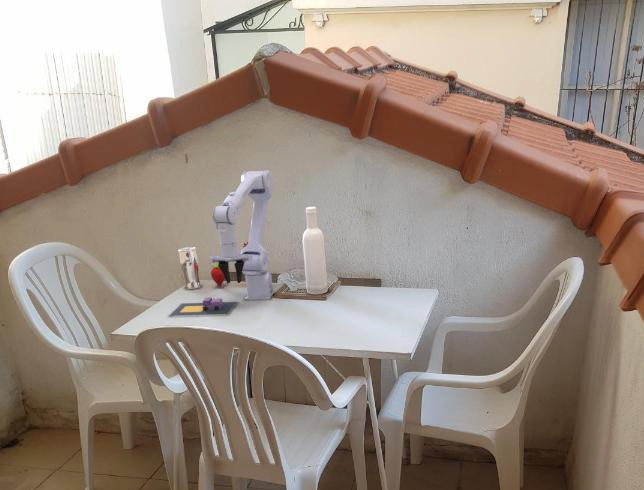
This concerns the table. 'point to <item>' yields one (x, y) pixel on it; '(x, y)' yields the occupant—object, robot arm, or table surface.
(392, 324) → the table surface
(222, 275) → the decorative fruit
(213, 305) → the toy truck
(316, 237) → the bottle
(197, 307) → the play mat
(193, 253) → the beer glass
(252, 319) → the table surface
